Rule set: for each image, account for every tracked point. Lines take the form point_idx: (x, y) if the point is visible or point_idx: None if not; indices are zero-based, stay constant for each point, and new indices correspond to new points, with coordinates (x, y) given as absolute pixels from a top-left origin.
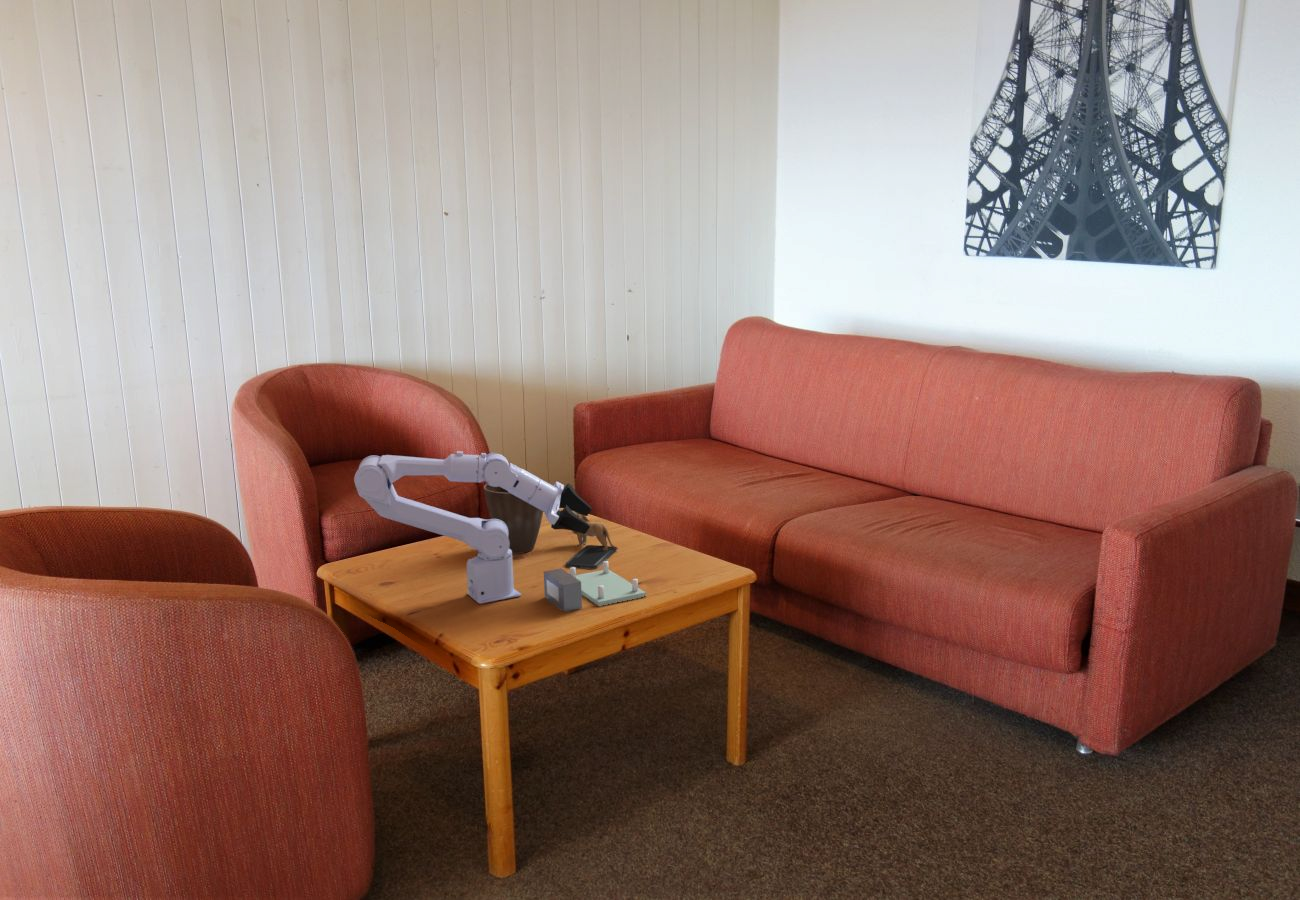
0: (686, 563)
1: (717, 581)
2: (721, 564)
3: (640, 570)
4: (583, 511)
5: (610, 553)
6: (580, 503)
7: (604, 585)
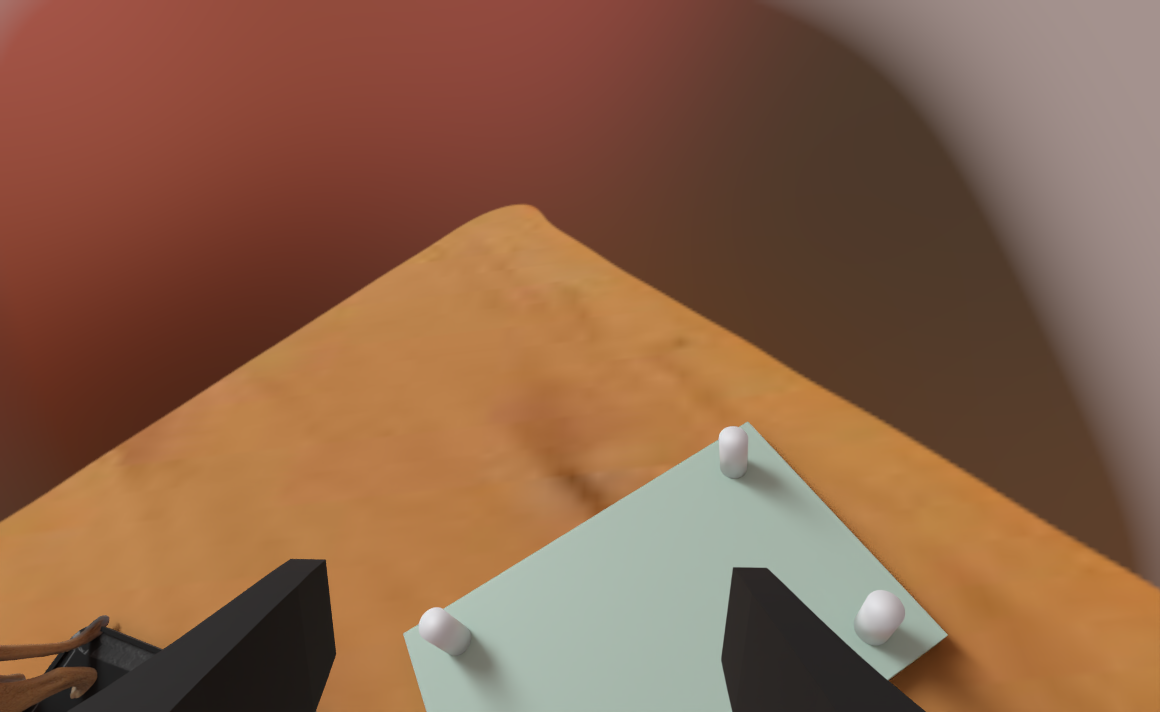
0: (375, 346)
1: (570, 250)
2: (415, 260)
3: (408, 490)
4: (302, 684)
5: (156, 648)
6: (227, 705)
7: (663, 628)
